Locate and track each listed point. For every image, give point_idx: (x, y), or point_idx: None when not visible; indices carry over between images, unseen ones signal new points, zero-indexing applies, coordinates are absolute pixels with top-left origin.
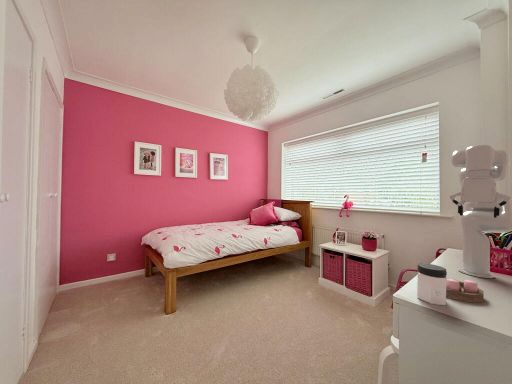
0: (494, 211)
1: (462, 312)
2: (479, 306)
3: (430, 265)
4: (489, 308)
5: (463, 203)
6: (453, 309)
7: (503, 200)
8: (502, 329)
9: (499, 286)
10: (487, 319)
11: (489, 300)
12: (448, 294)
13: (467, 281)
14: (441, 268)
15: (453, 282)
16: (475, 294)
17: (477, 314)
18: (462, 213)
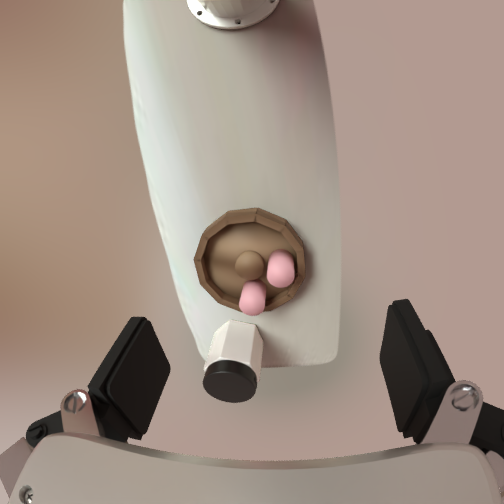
0: (396, 403)
1: (287, 345)
2: (302, 297)
3: (223, 383)
4: (316, 291)
5: (103, 434)
6: (275, 345)
7: (495, 475)
8: (332, 353)
9: (310, 73)
10: (317, 340)
11: (312, 240)
12: None
13: (275, 280)
14: (245, 387)
15: (256, 314)
16: (294, 292)
17: (304, 334)
18: (158, 364)
